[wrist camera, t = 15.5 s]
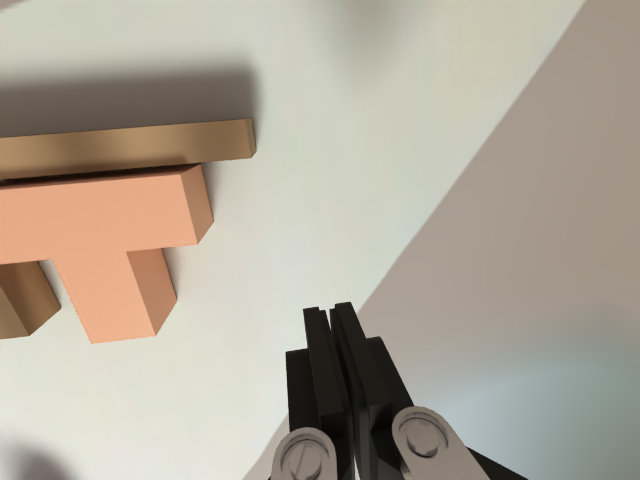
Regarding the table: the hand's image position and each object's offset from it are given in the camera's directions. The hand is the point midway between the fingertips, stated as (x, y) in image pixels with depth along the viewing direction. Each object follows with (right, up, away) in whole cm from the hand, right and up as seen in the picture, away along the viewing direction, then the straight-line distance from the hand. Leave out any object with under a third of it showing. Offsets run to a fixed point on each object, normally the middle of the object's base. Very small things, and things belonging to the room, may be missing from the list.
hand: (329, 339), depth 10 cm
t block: (-14, +3, +10) cm, 17 cm away
